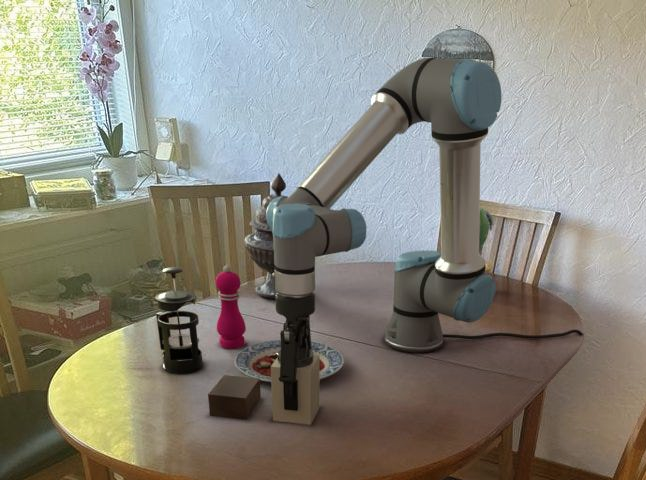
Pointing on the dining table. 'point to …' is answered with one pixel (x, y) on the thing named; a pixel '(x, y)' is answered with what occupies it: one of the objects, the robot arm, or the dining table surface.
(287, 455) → the dining table surface
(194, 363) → the french press
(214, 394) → the walnut block
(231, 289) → the pepper mill
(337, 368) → the ceramic plate
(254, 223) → the decorative urn
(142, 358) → the dining table surface
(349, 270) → the dining table surface
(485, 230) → the potted cactus
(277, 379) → the beige box
